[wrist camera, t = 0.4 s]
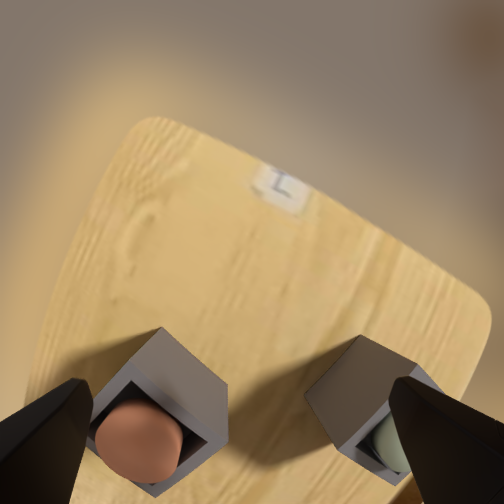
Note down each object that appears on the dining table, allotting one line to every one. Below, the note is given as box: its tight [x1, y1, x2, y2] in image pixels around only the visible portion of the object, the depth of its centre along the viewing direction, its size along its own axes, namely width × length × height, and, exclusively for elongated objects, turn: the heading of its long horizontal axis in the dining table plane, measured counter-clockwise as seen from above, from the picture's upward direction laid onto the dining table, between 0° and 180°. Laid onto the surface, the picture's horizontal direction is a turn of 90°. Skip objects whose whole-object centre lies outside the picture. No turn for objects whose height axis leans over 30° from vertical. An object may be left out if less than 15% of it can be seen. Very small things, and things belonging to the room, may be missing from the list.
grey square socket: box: [304, 335, 445, 486], centre depth 20 cm, size 7×7×9 cm
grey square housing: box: [86, 327, 229, 498], centre depth 19 cm, size 7×7×9 cm
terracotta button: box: [95, 398, 183, 483], centre depth 14 cm, size 5×5×2 cm
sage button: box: [371, 411, 411, 472], centre depth 16 cm, size 5×5×2 cm
